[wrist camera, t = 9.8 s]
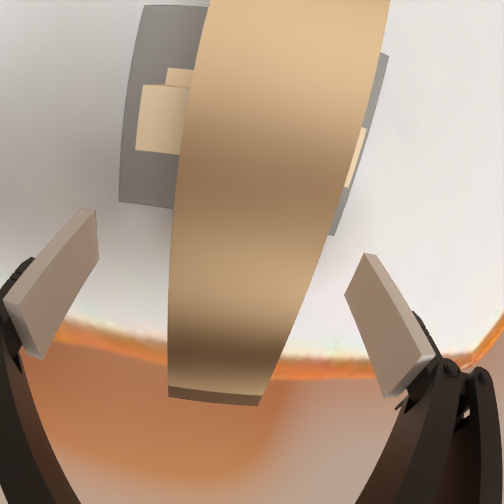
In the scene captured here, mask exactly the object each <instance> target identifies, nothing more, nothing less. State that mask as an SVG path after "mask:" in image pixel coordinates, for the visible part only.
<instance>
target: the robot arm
mask: <svg viewBox="0 0 504 504" xmlns="http://www.w3.org/2000/svg"><path fill="white" fill-rule="evenodd" d="M98 260H99V254H98V242H97V228H96V210H90V209H83V208H82V209H81V210H80V211H79V212H78V213H77V214H76V215H75V216H74V217H73V218H72V219H71V220H70V221H69V222H68V223H67V224H66V225H65V226H64V227H63V228H62V229H61V230H60V231H59V232H58V234H57V235H56V236H55V237H54V238H53V239H52V240H51V241H50V242H49V243H48V244H47V246H46V247H45V248H44V249H43V250H42V251H41V252H40V253H39V255H38V256H37V257H36V258H33V257H30V258H29V259H27V260H26V261H24V262H23V263H21V264H20V266H19V267H18V268H17V269H16V270H15V273H13V274H12V275H11V276H10V279H8V280H7V281H6V283H5V284H4V285H3V286H2V288H1V289H0V485H1V487H2V490H3V493H4V495H5V497H6V500H7V502H8V504H81V503H80V501H79V500H78V498H77V496H76V494H75V493H74V491H73V489H72V487H71V486H70V484H69V482H68V480H67V478H66V476H65V475H64V473H63V471H62V469H61V467H60V465H59V463H58V461H57V459H56V456H55V454H54V452H53V450H52V448H51V445H50V443H49V441H48V438H47V436H46V433H45V431H44V429H43V426H42V423H41V421H40V418H39V415H38V412H37V410H36V407H35V404H34V401H33V398H32V395H31V391H30V388H29V385H28V381H27V378H26V374H25V370H24V367H23V363H22V359H21V356H20V354H19V352H18V351H19V349H20V348H21V346H22V345H23V347H24V349H25V351H26V353H27V354H28V355H30V356H33V357H36V358H38V359H41V360H43V358H44V356H45V354H46V352H47V350H48V348H49V346H50V344H51V342H52V340H53V338H54V336H55V334H56V332H57V330H58V328H59V326H60V325H61V323H62V321H63V319H64V317H65V315H66V313H67V312H68V310H69V308H70V306H71V304H72V303H73V301H74V299H75V297H76V296H77V294H78V292H79V291H80V289H81V287H82V286H83V284H84V282H85V281H86V279H87V277H88V276H89V274H90V273H91V271H92V269H93V268H94V266H95V265H96V263H97V261H98ZM344 295H345V298H346V300H347V303H348V305H349V307H350V310H351V312H352V315H353V317H354V319H355V322H356V324H357V327H358V329H359V332H360V334H361V337H362V340H363V342H364V345H365V347H366V350H367V353H368V355H369V358H370V360H371V363H372V366H373V369H374V371H375V374H376V377H377V380H378V382H379V385H380V388H381V391H382V394H383V397H384V398H390V397H398V396H399V395H400V394H401V393H402V392H403V391H404V390H405V389H407V391H408V395H407V397H405V398H404V399H403V400H402V401H401V402H400V403H399V404H398V405H397V406H396V408H395V410H397V409H398V408H399V407H401V406H402V407H401V409H400V412H399V415H398V417H397V420H396V422H395V425H394V427H393V430H392V432H391V434H390V437H389V439H388V441H387V443H386V446H385V448H384V450H383V452H382V454H381V456H380V458H379V460H378V462H377V464H376V466H375V468H374V470H373V472H372V474H371V476H370V478H369V480H368V482H367V483H366V485H365V487H364V489H363V491H362V493H361V495H360V496H359V498H358V499H357V501H356V503H355V504H502V447H501V435H500V425H499V418H498V410H497V403H496V397H495V392H494V386H493V381H492V378H491V376H490V374H489V372H488V371H487V370H486V369H484V368H482V367H476V368H474V370H473V371H472V372H471V373H470V374H468V373H463V372H461V370H460V368H459V367H458V365H457V364H456V363H455V362H454V361H452V360H450V359H448V358H443V357H442V356H441V354H440V352H439V350H438V348H437V346H436V345H435V343H434V341H433V339H432V337H431V336H429V332H428V330H427V329H425V328H426V327H425V325H424V323H423V322H422V320H421V318H420V317H419V316H418V315H417V314H416V313H415V312H414V311H411V309H410V308H409V306H408V304H407V303H406V301H405V299H404V298H403V296H402V294H401V293H400V291H399V290H398V288H397V286H396V285H395V283H394V282H393V280H392V278H391V277H390V275H389V274H388V272H387V271H386V269H385V268H384V266H383V265H382V263H381V262H380V260H379V259H378V257H377V256H376V255H373V254H367V253H364V254H363V256H362V258H361V260H360V263H359V265H358V267H357V269H356V271H355V273H354V276H353V278H352V280H351V282H350V284H349V286H348V288H347V290H346V292H345V294H344ZM468 409H470V415H469V416H467V417H466V418H464V413H465V412H466V411H467V410H468Z"/></svg>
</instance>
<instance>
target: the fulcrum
mask: <svg viewBox="0 0 504 504" xmlns="http://www.w3.org/2000/svg"><path fill="white" fill-rule="evenodd" d="M207 11H208V7H198V6H181V5H144V8H143V12H142V16H141V20H140V24H139V29H138V33H137V38H136V42H135V47H134V52H133V57H132V63H131V69H130V75H129V81H128V88H127V95H126V103H125V111H124V120H123V130H122V142H121V157H120V178H119V201H120V202H127V203H135V204H142V205H149V206H156V207H163V208H170V209H174V201H175V191H176V182H177V174H178V165H179V157H180V150H181V143H182V136H183V129H184V122H185V116H186V110H187V104H188V98H189V93H190V87H191V82H192V77H193V72H194V67H195V62H196V57H197V53H198V48H199V44H200V39H201V35H202V31H203V26H204V22H205V18H206V14H207ZM388 58H389V56H388V55H385V54H383V53H381V52H380V55H379V60H378V64H377V68H376V73H375V77H374V81H373V85H372V89H371V93H370V97H369V101H368V105H367V109H366V112H365V116H364V120H363V124H362V127H361V131H360V134H359V138H358V141H357V145H356V148H355V152H354V155H353V158H352V162H351V165H350V168H349V172H348V175H347V178H346V181H345V184H344V187H343V191H342V194H341V197H340V200H339V203H338V206H337V209H336V212H335V215H334V218H333V221H332V224H331V227H330V229H329V232H328V235H332V236H334V235H335V232H336V229H337V227H338V224H339V221H340V218H341V216H342V213H343V210H344V207H345V204H346V201H347V199H348V196H349V193H350V190H351V187H352V184H353V181H354V178H355V175H356V172H357V169H358V166H359V162H360V159H361V156H362V153H363V150H364V146H365V143H366V140H367V137H368V133H369V130H370V126H371V123H372V119H373V116H374V112H375V109H376V105H377V101H378V98H379V94H380V90H381V86H382V82H383V78H384V74H385V70H386V66H387V62H388Z"/></svg>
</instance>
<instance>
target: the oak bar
mask: <svg viewBox="0 0 504 504" xmlns="http://www.w3.org/2000/svg"><path fill="white" fill-rule="evenodd" d="M389 4H390V0H210V3H209V7H208V11H207V14H206V18H205V22H204V26H203V31H202V35H201V39H200V44H199V48H198V53H197V57H196V62H195V67H194V72H193V77H192V82H191V87H190V93H189V98H188V104H187V110H186V116H185V122H184V129H183V136H182V143H181V150H180V157H179V165H178V174H177V182H176V191H175V201H174V212H173V223H172V236H171V250H170V268H169V290H168V393H169V397H174V398H180V399H187V400H194V401H203V402H211V403H221V404H233V405H247V406H258V404H259V401H260V399H261V397H262V395H263V393H264V391H265V388H266V386H267V384H268V382H269V380H270V378H271V375H272V373H273V371H274V369H275V367H276V364H277V362H278V360H279V357H280V355H281V353H282V351H283V348H284V346H285V343H286V341H287V339H288V336H289V334H290V332H291V329H292V327H293V324H294V322H295V320H296V317H297V315H298V312H299V310H300V307H301V305H302V302H303V300H304V297H305V294H306V292H307V289H308V287H309V284H310V282H311V279H312V276H313V274H314V271H315V268H316V266H317V263H318V260H319V258H320V255H321V252H322V249H323V246H324V244H325V241H326V238H327V235H328V232H329V229H330V227H331V224H332V221H333V218H334V215H335V212H336V209H337V206H338V203H339V200H340V197H341V194H342V191H343V187H344V184H345V181H346V178H347V175H348V172H349V168H350V165H351V162H352V158H353V155H354V152H355V148H356V145H357V141H358V138H359V134H360V131H361V127H362V124H363V120H364V116H365V112H366V109H367V105H368V101H369V97H370V93H371V89H372V85H373V81H374V77H375V73H376V68H377V64H378V60H379V55H380V50H381V46H382V41H383V36H384V31H385V26H386V21H387V15H388V10H389Z"/></svg>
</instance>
